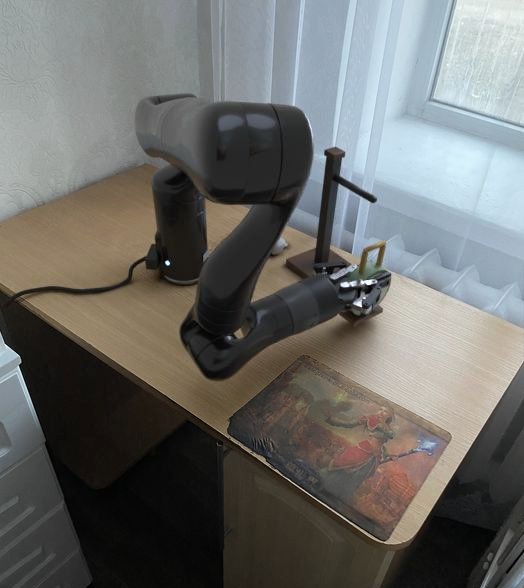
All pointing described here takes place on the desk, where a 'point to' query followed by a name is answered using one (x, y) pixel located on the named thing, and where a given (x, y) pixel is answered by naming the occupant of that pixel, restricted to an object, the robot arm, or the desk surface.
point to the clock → (365, 273)
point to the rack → (326, 216)
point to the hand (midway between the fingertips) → (380, 271)
